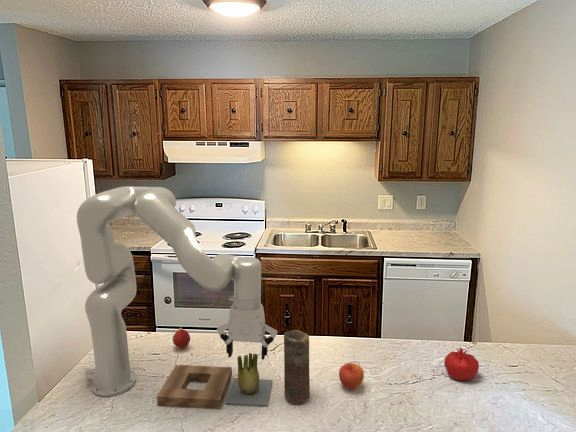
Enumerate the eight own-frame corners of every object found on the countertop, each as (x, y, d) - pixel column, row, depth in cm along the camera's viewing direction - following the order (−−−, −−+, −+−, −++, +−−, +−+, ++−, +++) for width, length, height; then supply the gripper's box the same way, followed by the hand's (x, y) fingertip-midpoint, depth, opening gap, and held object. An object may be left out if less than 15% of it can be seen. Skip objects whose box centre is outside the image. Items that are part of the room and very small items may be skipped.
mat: (225, 404, 120) (225, 402, 120) (233, 379, 131) (233, 378, 131) (267, 406, 119) (267, 405, 119) (272, 381, 131) (272, 379, 130)
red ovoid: (183, 342, 154) (182, 322, 152) (194, 347, 150) (192, 327, 148) (170, 349, 149) (169, 328, 148) (180, 354, 146) (179, 333, 144)
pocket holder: (157, 406, 119) (156, 396, 119) (176, 373, 135) (175, 364, 134) (220, 409, 118) (219, 399, 117) (232, 375, 133) (231, 367, 133)
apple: (364, 382, 130) (365, 358, 129) (361, 396, 123) (362, 372, 122) (340, 378, 132) (341, 355, 131) (336, 392, 125) (337, 368, 124)
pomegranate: (478, 387, 128) (482, 360, 126) (443, 381, 131) (446, 354, 129) (475, 369, 137) (479, 343, 135) (443, 363, 140) (445, 338, 138)
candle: (280, 392, 125) (280, 330, 121) (303, 386, 128) (304, 326, 124) (289, 408, 118) (289, 342, 114) (313, 402, 121) (314, 338, 117)
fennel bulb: (237, 394, 123) (235, 357, 121) (242, 384, 128) (241, 348, 125) (256, 397, 122) (255, 359, 120) (260, 387, 127) (260, 351, 124)
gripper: (213, 304, 116) (214, 361, 120) (276, 308, 115) (275, 365, 118) (220, 294, 123) (220, 347, 127) (279, 297, 122) (277, 351, 126)
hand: (246, 356), depth 123 cm, fingers open, 9 cm apart
